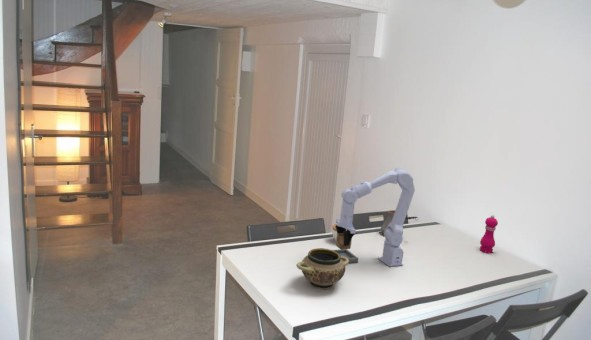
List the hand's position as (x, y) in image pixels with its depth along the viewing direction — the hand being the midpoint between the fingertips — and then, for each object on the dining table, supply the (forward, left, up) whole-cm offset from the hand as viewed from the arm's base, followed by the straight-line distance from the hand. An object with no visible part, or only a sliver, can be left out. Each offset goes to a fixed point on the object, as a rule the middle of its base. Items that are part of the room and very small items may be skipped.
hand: (343, 243), depth 210 cm
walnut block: (0, 0, -2) cm, 2 cm away
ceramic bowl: (-21, +21, -8) cm, 31 cm away
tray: (0, 0, -8) cm, 8 cm away
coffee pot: (+20, -46, -8) cm, 51 cm away
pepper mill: (-6, -84, -8) cm, 85 cm away
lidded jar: (+20, -11, -8) cm, 24 cm away
